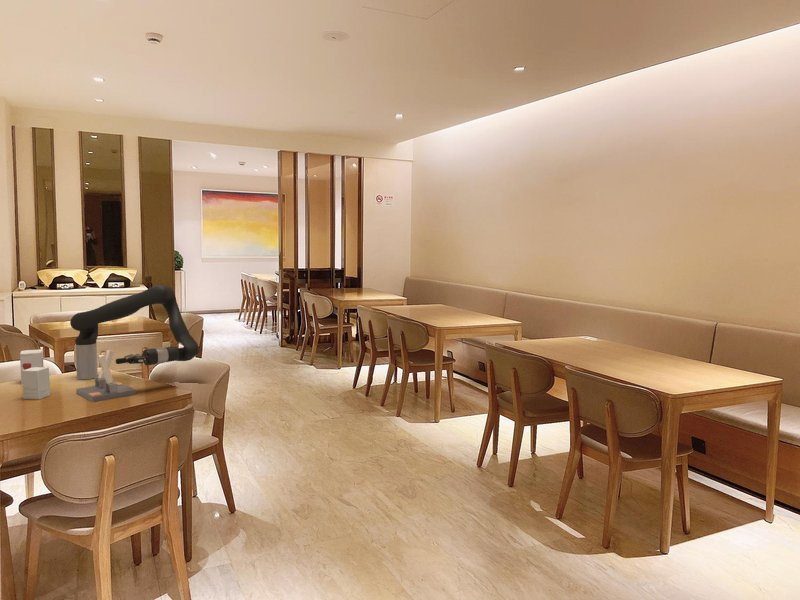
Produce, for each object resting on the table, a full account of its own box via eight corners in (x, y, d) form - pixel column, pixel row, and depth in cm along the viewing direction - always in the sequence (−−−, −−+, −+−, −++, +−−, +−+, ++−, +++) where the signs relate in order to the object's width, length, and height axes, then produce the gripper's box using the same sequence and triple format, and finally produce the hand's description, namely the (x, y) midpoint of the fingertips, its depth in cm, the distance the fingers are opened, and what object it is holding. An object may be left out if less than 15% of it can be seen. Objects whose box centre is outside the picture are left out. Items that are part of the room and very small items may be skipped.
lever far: (96, 382, 249) (107, 349, 252) (101, 382, 251) (112, 350, 254) (98, 383, 247) (109, 350, 250) (103, 384, 249) (114, 351, 252)
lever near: (107, 388, 242) (97, 356, 238) (113, 385, 244) (102, 354, 240) (110, 389, 240) (99, 357, 236) (115, 386, 242) (105, 355, 238)
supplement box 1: (20, 384, 261) (19, 353, 260) (22, 380, 269) (20, 350, 267) (43, 382, 265) (41, 351, 264) (44, 378, 273) (43, 348, 272)
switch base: (76, 393, 246) (75, 380, 246) (118, 386, 259) (118, 373, 259) (92, 401, 233) (92, 388, 232) (136, 394, 246) (135, 380, 245)
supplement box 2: (51, 395, 242) (49, 367, 241) (38, 399, 235) (36, 370, 234) (35, 394, 243) (34, 366, 242) (22, 399, 236) (20, 370, 235)
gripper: (149, 346, 259) (110, 351, 246) (161, 350, 250) (121, 355, 238) (149, 362, 260) (110, 367, 247) (162, 366, 251) (122, 372, 238)
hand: (116, 361), depth 242 cm, fingers closed
